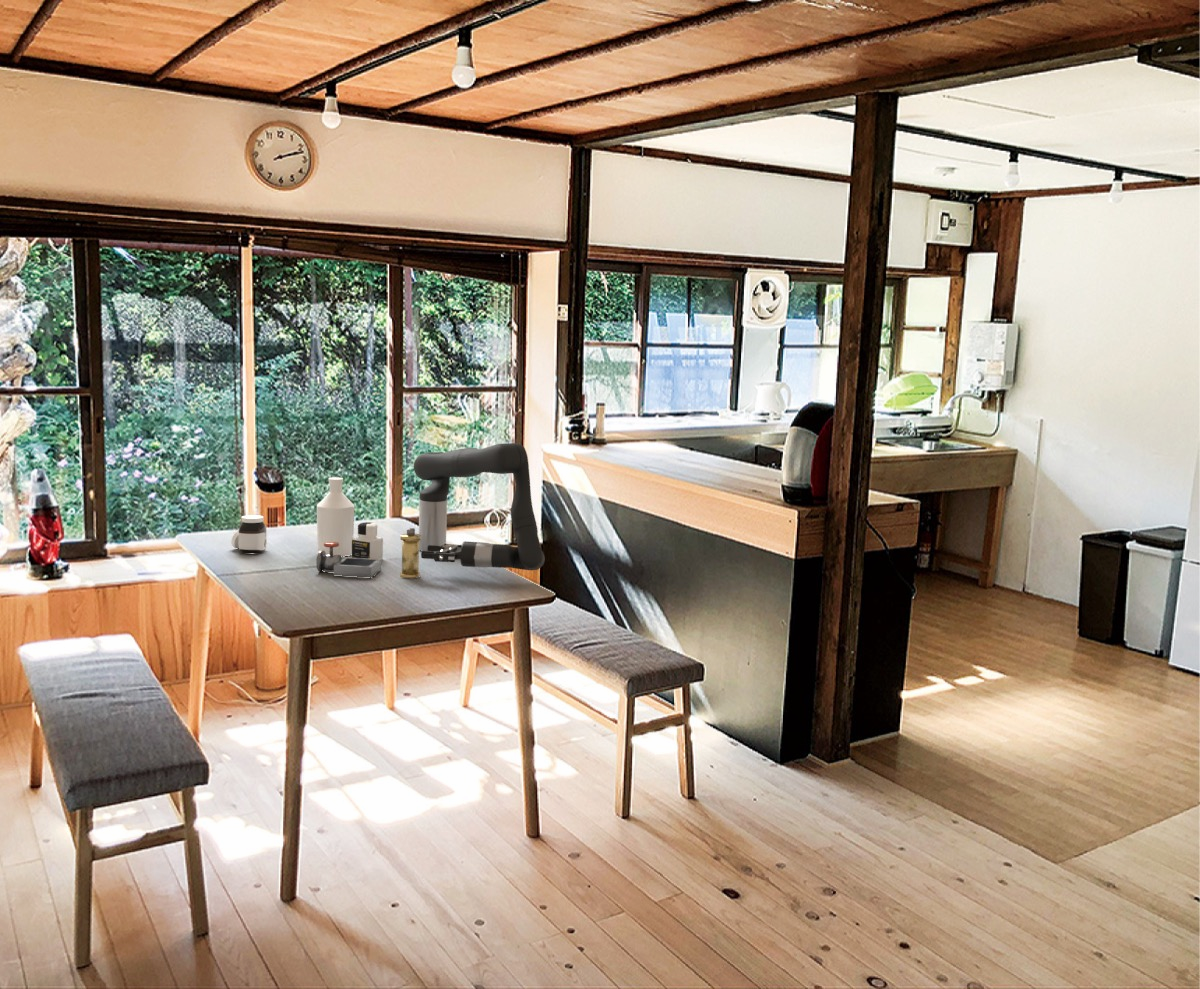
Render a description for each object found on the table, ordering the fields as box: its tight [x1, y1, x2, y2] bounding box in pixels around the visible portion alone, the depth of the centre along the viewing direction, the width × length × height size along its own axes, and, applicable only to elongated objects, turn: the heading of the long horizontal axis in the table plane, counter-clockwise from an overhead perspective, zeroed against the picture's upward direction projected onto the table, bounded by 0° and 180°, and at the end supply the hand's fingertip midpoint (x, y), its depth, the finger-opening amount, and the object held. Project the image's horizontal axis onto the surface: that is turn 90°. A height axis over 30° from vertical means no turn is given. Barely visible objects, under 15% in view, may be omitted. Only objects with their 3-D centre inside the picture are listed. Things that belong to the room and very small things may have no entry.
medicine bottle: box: [351, 521, 384, 560], centre depth 340 cm, size 7×7×12 cm
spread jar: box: [230, 514, 268, 554], centre depth 345 cm, size 12×11×12 cm
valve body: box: [399, 527, 421, 579], centre depth 320 cm, size 6×6×15 cm
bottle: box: [316, 476, 355, 556], centre depth 345 cm, size 12×12×25 cm
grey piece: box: [316, 542, 382, 578], centre depth 322 cm, size 11×17×9 cm, turn 87°
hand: (424, 551), depth 320 cm, fingers open, 8 cm apart
